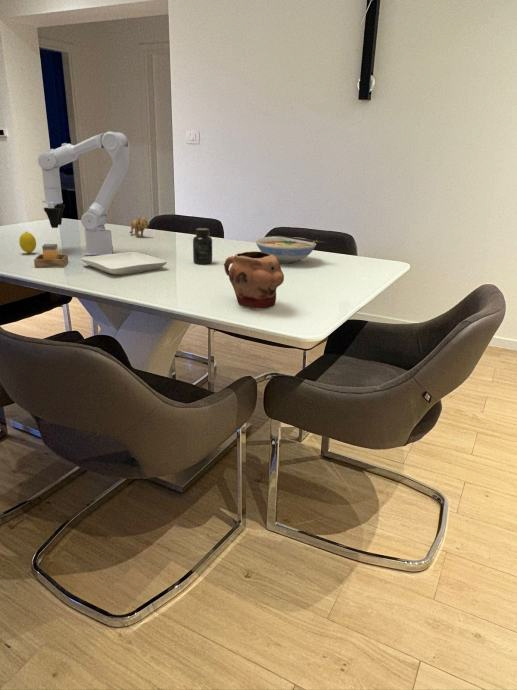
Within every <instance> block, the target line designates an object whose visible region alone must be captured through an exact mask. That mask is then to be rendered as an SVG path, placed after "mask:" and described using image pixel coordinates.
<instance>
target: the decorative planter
mask: <svg viewBox="0 0 517 690" xmlns="http://www.w3.org/2000/svg"><path fill="white" fill-rule="evenodd" d="M230 265H231V266H230ZM223 266H224V272H225V274H226V276H228V279H229V281H230V284H231V285H232V288H233V291H234V294H235V297H236V300H237V301H236V302H237V304H238V305H239V306H241V307H243V308H247V309H251V310H266V309H270V308H272V307H273V308H274V307H275V305H276V301H277V289H278V288H279V287H280V286H281V285H282V284H283V283H284V280H285V274H284V272H283V270H282V267H281V264H280V262H279V261H278V260H277V258H276V257H275V256H274V255H271V254H268V253H264V252H261V251H256V250H255V251H244V252H239V253H236V254H235V255H232V256H228V257H227V258H226V259H225V261H224V263H223Z"/></svg>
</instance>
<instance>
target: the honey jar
mask: <svg viewBox="0 0 517 690" xmlns="http://www.w3.org/2000/svg"><path fill="white" fill-rule="evenodd" d="M41 247H42V254H43V257H44V259H59V257H58V254H59V248H58V244H57V243H44V244H42V246H41Z"/></svg>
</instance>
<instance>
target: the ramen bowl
mask: <svg viewBox="0 0 517 690" xmlns="http://www.w3.org/2000/svg"><path fill="white" fill-rule="evenodd" d="M254 242H255V244H256V247H257V248H258V249H259V252H264V253H268V254H271V255H274V256H275V257H276V258H277V260H278V261H279V263H281V264H292V263H296V261H300V260H302V259H305V258H306V257H308V256H309V255H311V253H312V252H313V251H314V249H315V247H316V246H317V244H319V245H324V244H325V245H327V241H324V240H323V241H321V240H314V239H308V238H304V237H296V236H295V237H294V236H286V235H280V234H271V236H263V237H260V238H257V239H255V241H254Z"/></svg>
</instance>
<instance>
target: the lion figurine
mask: <svg viewBox="0 0 517 690" xmlns="http://www.w3.org/2000/svg"><path fill="white" fill-rule="evenodd" d="M149 225H150V221H148V220H146V217H143V216H142V217H140V218H138V219H137V220H136V219H134V220H131V224H130V229H131V230H130V231H129V234H130V236H131V237H132V236H134V235H136V239H139V238H145V236H144V231H145V229H146V228H148V227H149ZM139 233H140V234H139Z"/></svg>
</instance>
